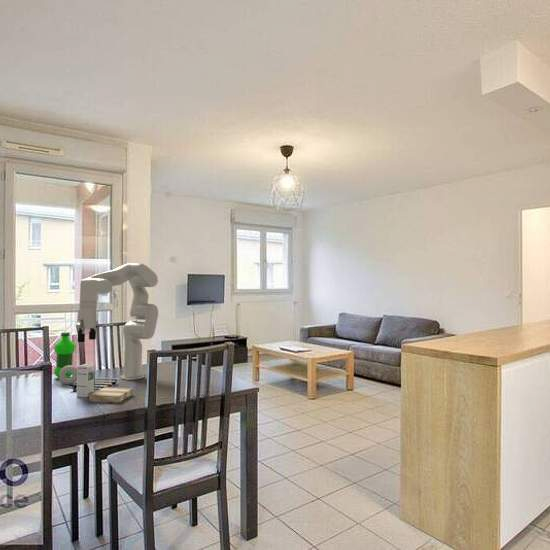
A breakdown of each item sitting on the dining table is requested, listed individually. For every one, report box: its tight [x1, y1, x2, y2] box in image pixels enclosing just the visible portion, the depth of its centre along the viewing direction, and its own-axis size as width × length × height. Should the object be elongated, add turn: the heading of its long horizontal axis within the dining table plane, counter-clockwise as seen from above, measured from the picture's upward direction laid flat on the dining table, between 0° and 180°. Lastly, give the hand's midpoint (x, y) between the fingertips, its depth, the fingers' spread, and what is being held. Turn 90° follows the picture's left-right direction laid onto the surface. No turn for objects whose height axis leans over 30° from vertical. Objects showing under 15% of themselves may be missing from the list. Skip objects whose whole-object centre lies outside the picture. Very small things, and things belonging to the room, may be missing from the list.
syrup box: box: [76, 363, 96, 398], centre depth 199 cm, size 6×6×14 cm
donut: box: [58, 365, 77, 385], centre depth 218 cm, size 10×4×10 cm, turn 98°
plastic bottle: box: [53, 331, 76, 379], centre depth 232 cm, size 10×10×25 cm
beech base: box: [88, 386, 134, 404], centre depth 196 cm, size 14×14×3 cm
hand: (86, 340), depth 199 cm, fingers open, 9 cm apart
